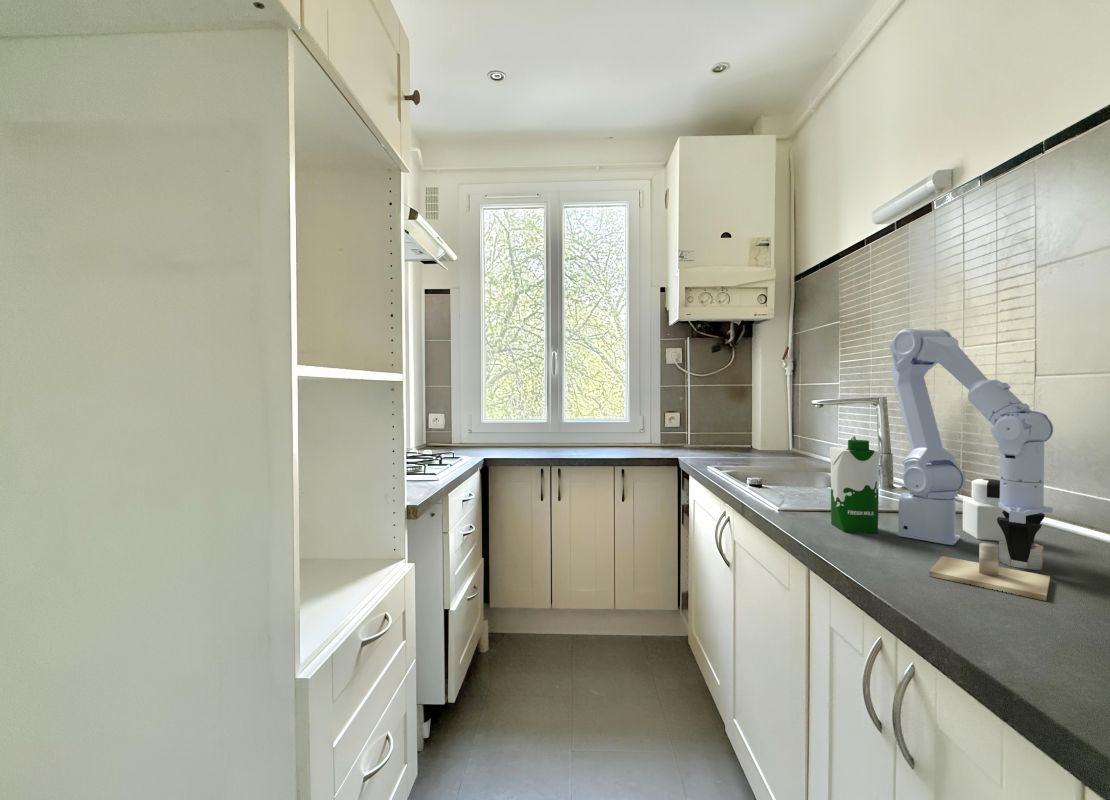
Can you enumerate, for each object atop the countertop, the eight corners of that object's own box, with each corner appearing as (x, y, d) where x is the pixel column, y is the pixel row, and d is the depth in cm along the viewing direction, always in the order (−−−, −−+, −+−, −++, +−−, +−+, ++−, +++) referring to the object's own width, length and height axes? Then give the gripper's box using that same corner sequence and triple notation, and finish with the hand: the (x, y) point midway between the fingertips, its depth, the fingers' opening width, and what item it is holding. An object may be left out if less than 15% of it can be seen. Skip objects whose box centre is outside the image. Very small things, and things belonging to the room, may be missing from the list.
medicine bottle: (1002, 533, 108) (1002, 477, 108) (1020, 542, 102) (1020, 483, 101) (961, 530, 111) (962, 476, 110) (977, 539, 104) (977, 482, 104)
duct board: (929, 575, 84) (929, 543, 84) (942, 560, 92) (942, 530, 91) (1046, 601, 74) (1046, 563, 74) (1050, 581, 81) (1050, 547, 81)
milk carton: (841, 533, 109) (841, 441, 109) (825, 522, 118) (825, 437, 118) (884, 534, 108) (885, 441, 108) (865, 523, 117) (865, 437, 117)
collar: (997, 563, 89) (998, 544, 89) (1001, 556, 93) (1001, 537, 93) (1041, 571, 85) (1041, 551, 85) (1043, 563, 89) (1043, 544, 89)
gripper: (1051, 488, 81) (1050, 572, 81) (1055, 477, 91) (1054, 551, 91) (993, 483, 86) (992, 561, 87) (1003, 473, 96) (1002, 543, 97)
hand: (1020, 556), depth 89 cm, fingers open, 6 cm apart
